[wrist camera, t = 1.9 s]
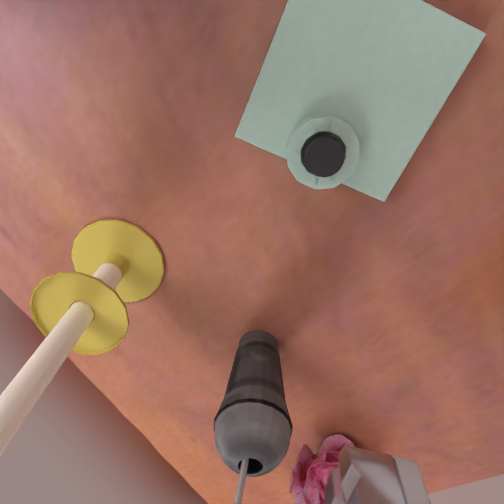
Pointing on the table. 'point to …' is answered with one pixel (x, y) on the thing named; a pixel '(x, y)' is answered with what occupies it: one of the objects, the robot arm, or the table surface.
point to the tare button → (324, 155)
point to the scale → (356, 85)
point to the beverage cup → (253, 411)
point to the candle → (83, 309)
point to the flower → (316, 470)
